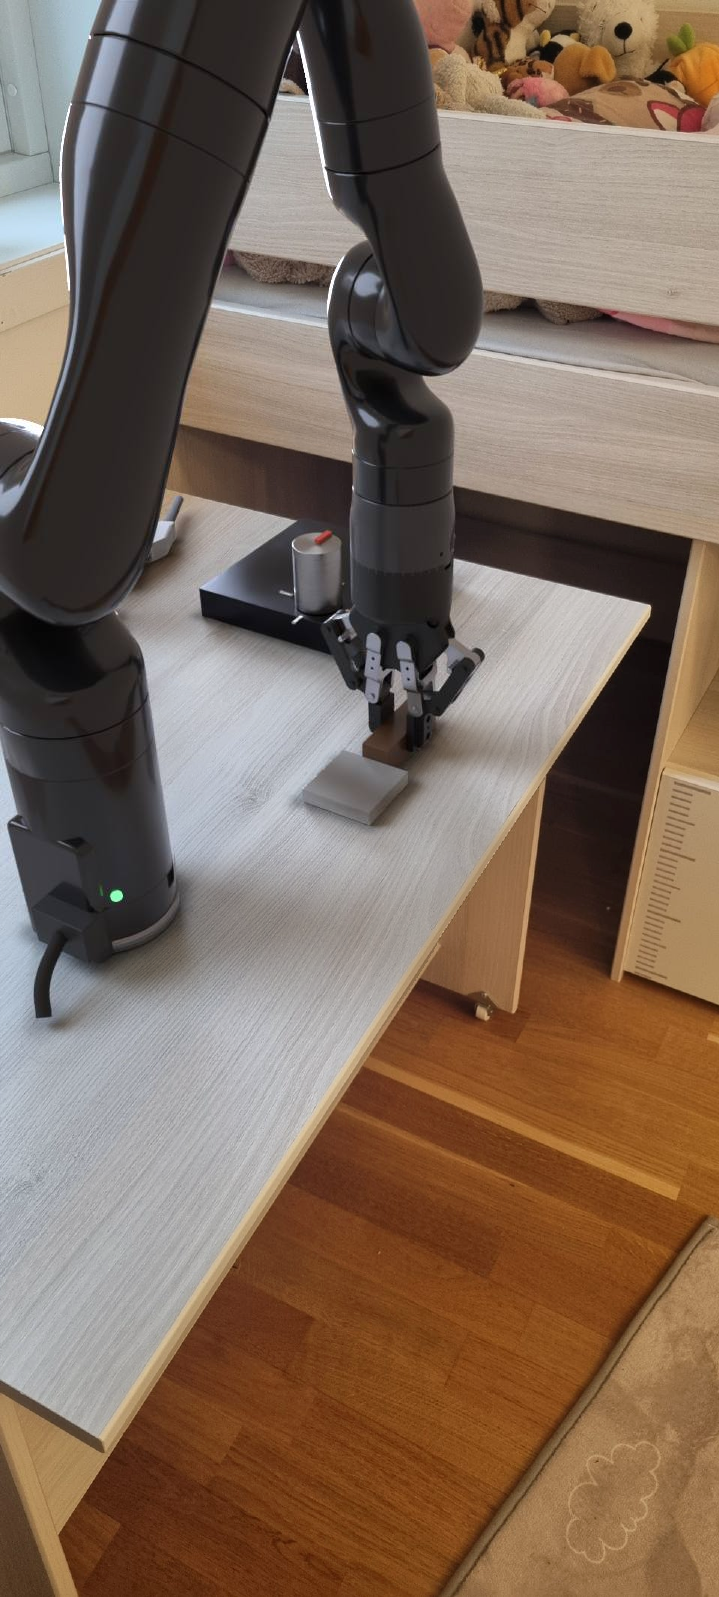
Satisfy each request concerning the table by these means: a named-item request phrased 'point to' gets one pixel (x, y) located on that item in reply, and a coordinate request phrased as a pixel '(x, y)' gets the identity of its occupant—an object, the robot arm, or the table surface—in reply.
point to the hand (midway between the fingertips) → (400, 741)
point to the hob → (274, 590)
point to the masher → (365, 773)
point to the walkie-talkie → (165, 532)
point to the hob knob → (317, 573)
